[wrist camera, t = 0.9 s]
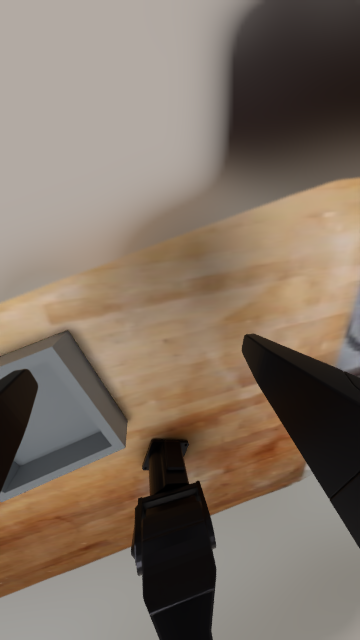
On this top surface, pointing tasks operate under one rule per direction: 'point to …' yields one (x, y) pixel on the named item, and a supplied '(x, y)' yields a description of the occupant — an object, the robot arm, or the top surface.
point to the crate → (61, 415)
